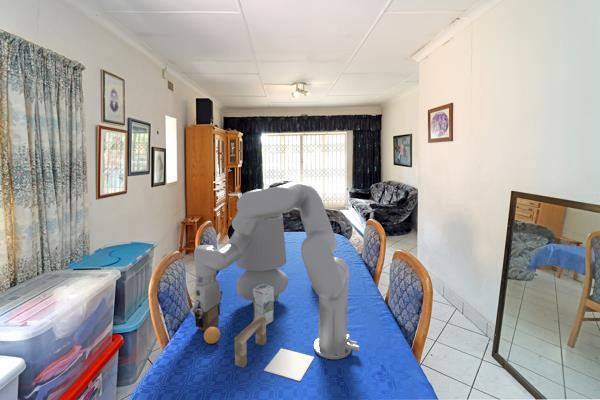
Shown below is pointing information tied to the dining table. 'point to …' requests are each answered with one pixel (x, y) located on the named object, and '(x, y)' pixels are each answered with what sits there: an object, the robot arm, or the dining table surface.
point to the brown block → (210, 318)
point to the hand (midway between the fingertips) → (208, 320)
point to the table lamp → (264, 259)
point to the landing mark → (289, 364)
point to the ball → (212, 335)
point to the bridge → (241, 338)
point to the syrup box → (263, 302)
